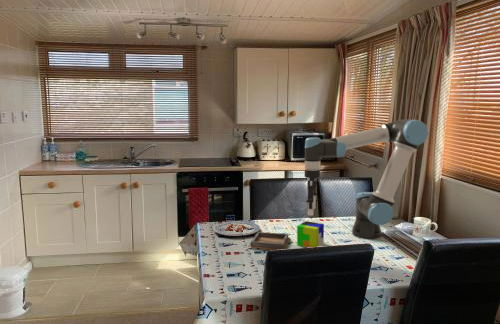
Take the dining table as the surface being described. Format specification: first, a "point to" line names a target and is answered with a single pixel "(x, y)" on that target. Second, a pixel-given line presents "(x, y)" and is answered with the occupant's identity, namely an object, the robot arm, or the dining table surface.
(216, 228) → the ceramic plate
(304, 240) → the puzzle toy
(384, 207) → the robot arm
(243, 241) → the dining table surface
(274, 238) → the pocket board
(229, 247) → the dining table surface
